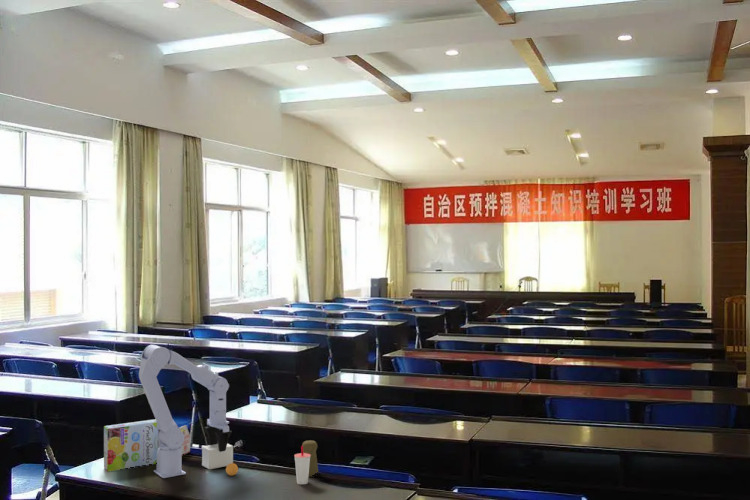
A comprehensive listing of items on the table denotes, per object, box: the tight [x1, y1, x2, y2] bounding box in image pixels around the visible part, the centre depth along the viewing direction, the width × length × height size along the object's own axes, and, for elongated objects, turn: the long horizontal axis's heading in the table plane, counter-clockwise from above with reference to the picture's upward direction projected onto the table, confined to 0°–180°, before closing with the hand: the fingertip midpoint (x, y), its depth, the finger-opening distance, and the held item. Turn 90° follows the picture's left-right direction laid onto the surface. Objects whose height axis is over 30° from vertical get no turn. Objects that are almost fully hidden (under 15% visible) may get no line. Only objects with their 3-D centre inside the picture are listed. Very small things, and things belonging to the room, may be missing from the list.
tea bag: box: [178, 424, 191, 456], centre depth 257 cm, size 4×7×10 cm, turn 163°
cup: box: [293, 445, 311, 485], centre depth 223 cm, size 5×5×12 cm
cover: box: [201, 442, 234, 470], centre depth 243 cm, size 6×9×7 cm, turn 127°
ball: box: [225, 462, 239, 477], centre depth 231 cm, size 4×4×4 cm
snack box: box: [103, 419, 161, 473], centre depth 242 cm, size 21×6×15 cm, turn 124°
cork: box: [301, 439, 319, 477], centre depth 233 cm, size 6×6×11 cm
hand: (217, 448), depth 243 cm, fingers open, 7 cm apart
